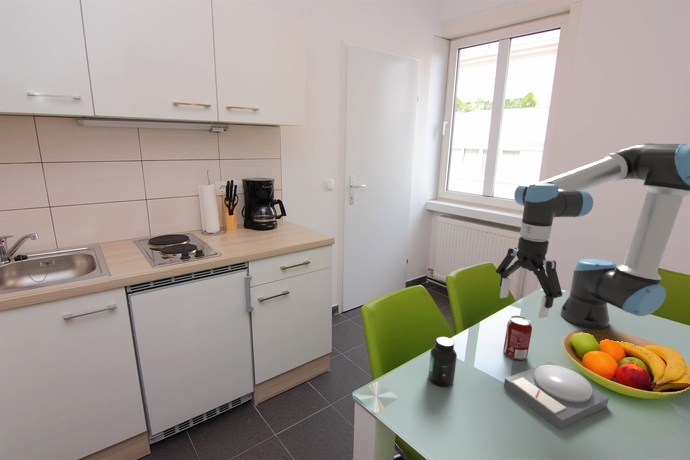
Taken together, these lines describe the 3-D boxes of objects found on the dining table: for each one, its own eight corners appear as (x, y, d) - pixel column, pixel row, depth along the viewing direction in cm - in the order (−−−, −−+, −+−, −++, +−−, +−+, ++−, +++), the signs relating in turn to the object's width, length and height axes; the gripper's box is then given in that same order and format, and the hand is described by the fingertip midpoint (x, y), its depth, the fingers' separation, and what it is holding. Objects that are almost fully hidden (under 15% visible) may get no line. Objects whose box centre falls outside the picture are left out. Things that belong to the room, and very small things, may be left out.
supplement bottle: (426, 384, 96) (430, 345, 93) (429, 369, 102) (433, 332, 99) (452, 390, 93) (457, 350, 90) (454, 375, 100) (458, 337, 97)
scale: (548, 369, 103) (550, 357, 102) (606, 406, 89) (610, 392, 88) (503, 386, 96) (505, 373, 95) (560, 429, 82) (563, 414, 81)
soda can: (529, 363, 106) (536, 327, 103) (505, 359, 107) (511, 324, 104) (523, 350, 112) (529, 316, 109) (500, 347, 114) (506, 313, 111)
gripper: (489, 228, 109) (481, 292, 115) (568, 252, 88) (553, 329, 93) (507, 226, 113) (497, 288, 118) (587, 249, 91) (571, 323, 96)
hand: (522, 306), depth 106 cm, fingers open, 13 cm apart
